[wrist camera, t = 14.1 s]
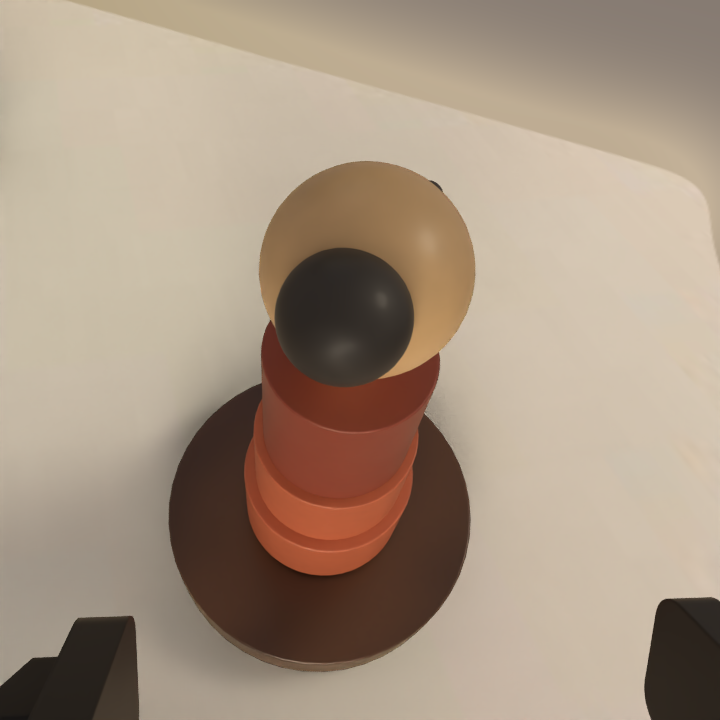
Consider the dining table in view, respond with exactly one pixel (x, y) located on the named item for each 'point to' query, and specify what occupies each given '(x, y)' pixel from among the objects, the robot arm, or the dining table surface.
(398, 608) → the doll stand
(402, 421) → the doll
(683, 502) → the dining table surface
